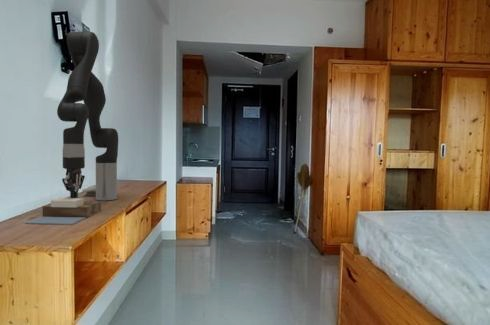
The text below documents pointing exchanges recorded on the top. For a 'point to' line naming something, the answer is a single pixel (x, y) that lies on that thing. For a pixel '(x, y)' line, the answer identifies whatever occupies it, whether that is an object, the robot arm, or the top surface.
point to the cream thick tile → (67, 202)
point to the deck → (73, 210)
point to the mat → (56, 220)
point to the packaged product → (90, 190)
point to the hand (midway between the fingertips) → (74, 201)
